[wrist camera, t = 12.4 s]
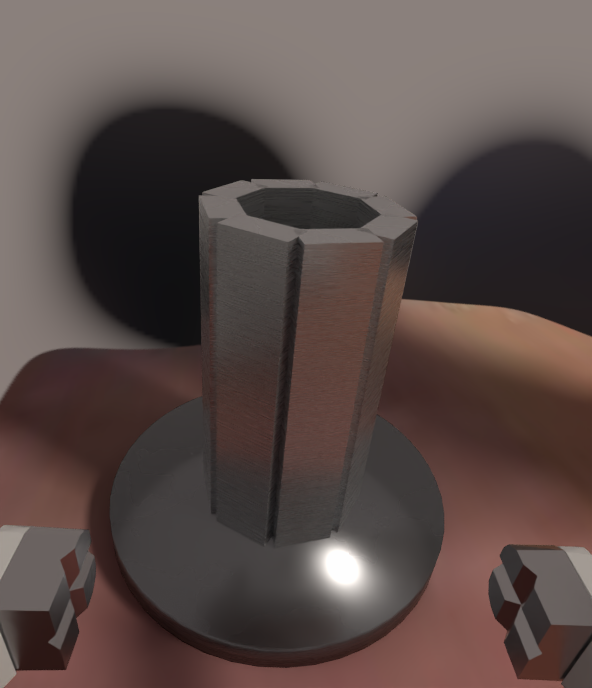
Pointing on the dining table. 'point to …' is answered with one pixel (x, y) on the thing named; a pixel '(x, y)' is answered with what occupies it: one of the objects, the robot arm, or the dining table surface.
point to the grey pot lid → (272, 553)
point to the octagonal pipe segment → (294, 348)
